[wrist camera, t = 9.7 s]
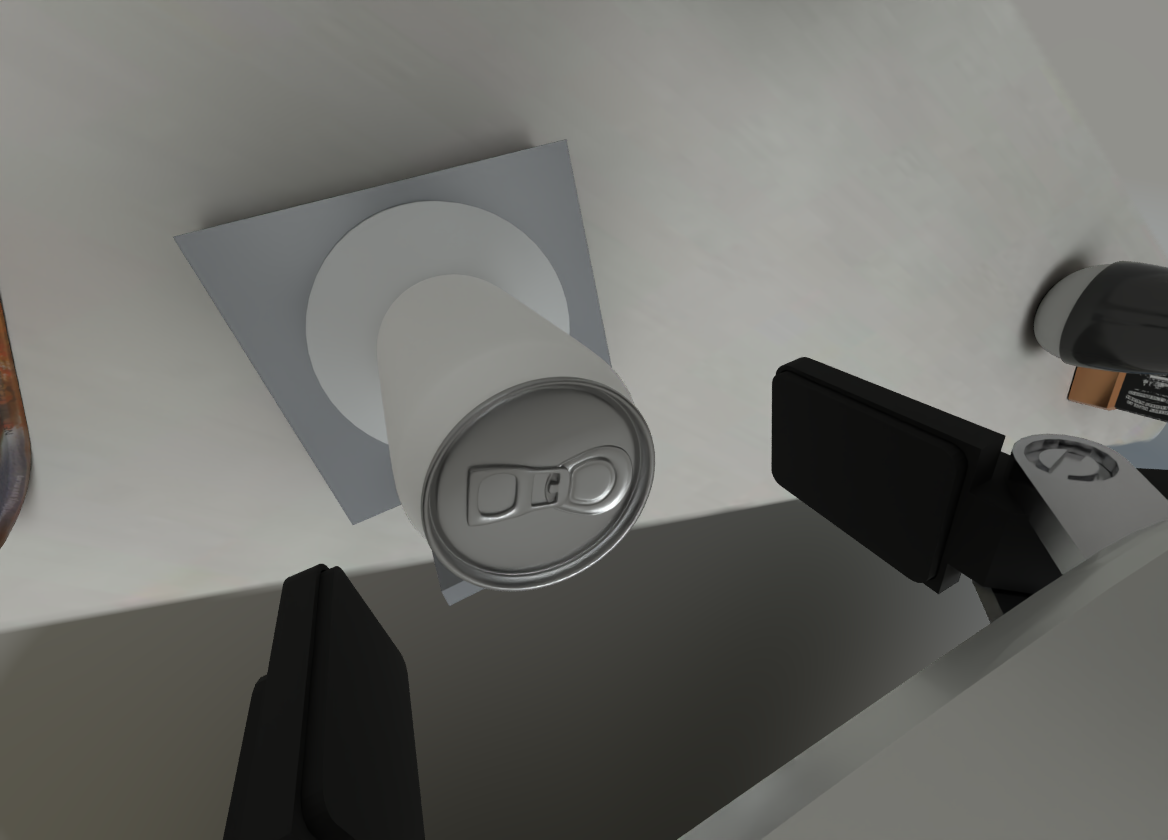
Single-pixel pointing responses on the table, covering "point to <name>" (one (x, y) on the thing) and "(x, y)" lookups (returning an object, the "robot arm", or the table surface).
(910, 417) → the robot arm
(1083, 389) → the whiskey bottle
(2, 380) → the tin
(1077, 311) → the pump dispenser
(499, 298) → the can
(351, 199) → the scale
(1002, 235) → the table surface
